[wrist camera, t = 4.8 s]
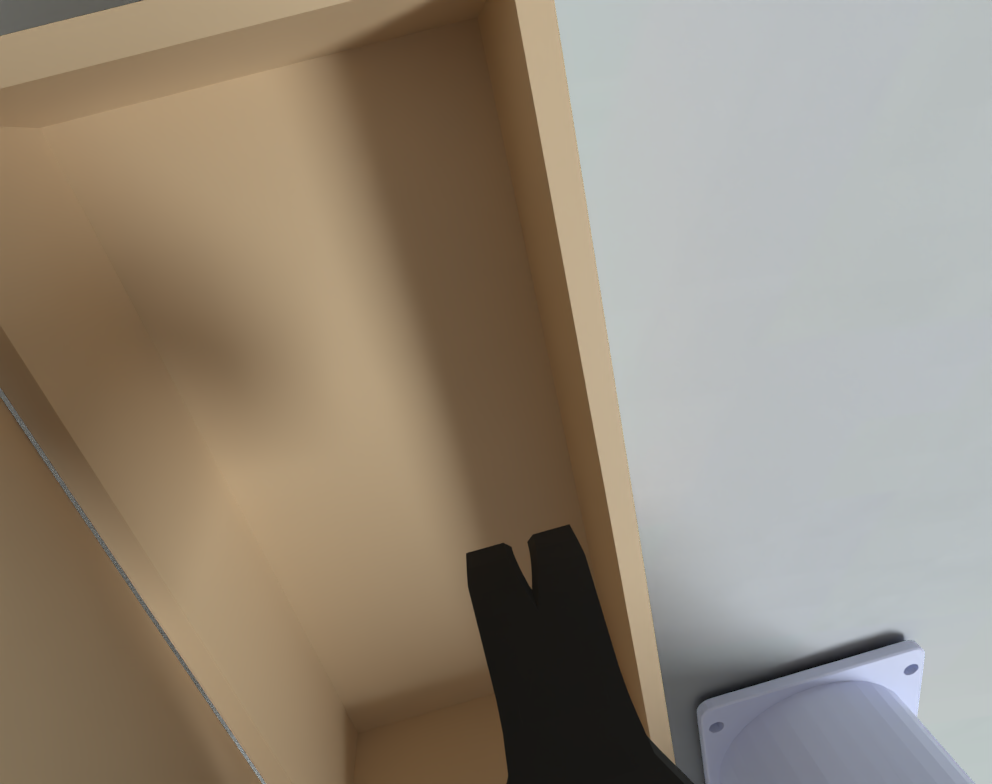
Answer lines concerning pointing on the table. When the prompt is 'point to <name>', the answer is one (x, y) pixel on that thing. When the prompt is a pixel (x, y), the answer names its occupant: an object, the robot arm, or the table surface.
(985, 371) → the table surface
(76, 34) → the carton
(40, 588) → the lid flap
